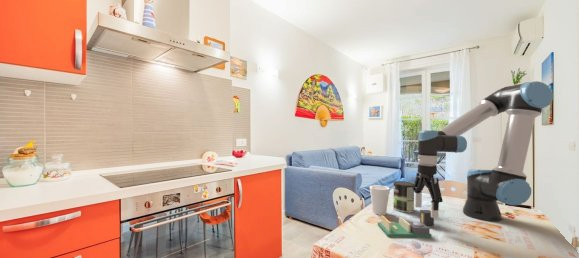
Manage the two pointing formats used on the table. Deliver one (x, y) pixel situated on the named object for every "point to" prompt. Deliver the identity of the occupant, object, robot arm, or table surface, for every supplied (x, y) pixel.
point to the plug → (426, 218)
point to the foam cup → (379, 199)
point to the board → (404, 228)
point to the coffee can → (403, 196)
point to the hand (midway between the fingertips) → (425, 212)
